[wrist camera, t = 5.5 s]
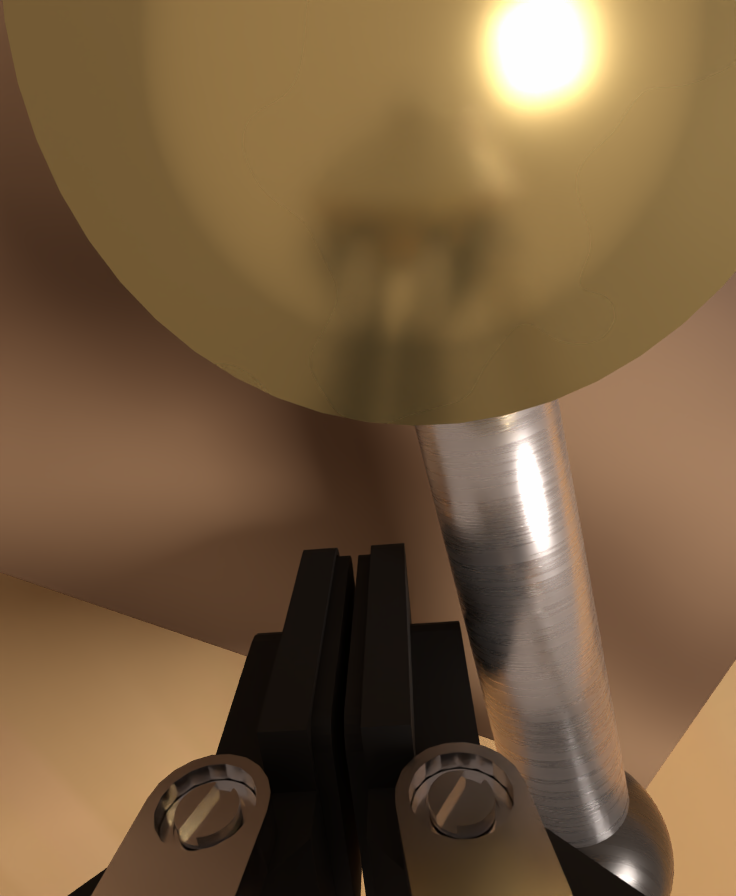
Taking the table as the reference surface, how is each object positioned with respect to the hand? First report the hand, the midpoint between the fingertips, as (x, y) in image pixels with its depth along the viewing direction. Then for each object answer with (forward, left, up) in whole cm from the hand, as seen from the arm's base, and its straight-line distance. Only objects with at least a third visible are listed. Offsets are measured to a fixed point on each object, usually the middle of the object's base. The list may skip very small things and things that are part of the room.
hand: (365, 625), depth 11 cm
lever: (+4, -1, -1) cm, 4 cm away
